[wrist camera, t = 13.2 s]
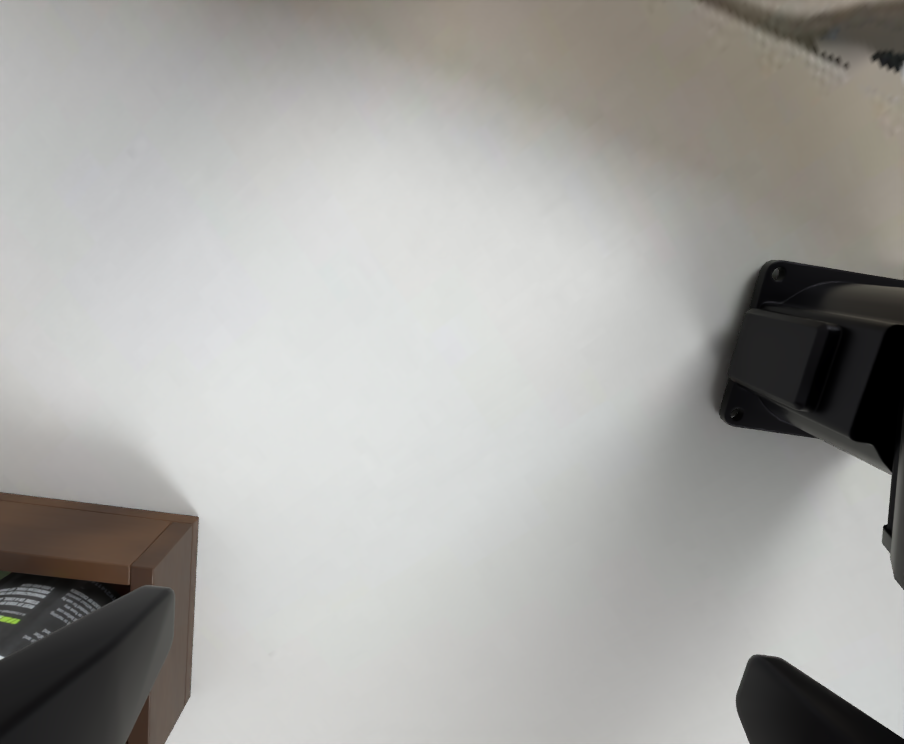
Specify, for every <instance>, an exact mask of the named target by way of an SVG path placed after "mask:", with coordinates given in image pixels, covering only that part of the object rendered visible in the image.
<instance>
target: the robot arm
mask: <svg viewBox="0 0 904 744" xmlns="http://www.w3.org/2000/svg"><path fill="white" fill-rule="evenodd" d="M776 268H778V270H779V275H778V277H777V278H776V279H775V280H774V279H773V277H772V273H773V271H774V270H775V269H776ZM728 375H729V379H728V383H727V386H726V390H725V393H724V397H723V400H722V403H721V407H720V412H719V415H720V418H721V419H722V420H723V421H724V422H726V423H727V424H729V425H731V426H735V427H742V428H749V429H755V430H762V431H769V432H776V433H783V434H790V435H797V436H804V437H811V438H818V439H821V440H823V441H825V442H827V443H829V444H831V445H833V446H835V447H837V448H839V449H841V450H843V451H845V452H847V453H849V454H851V455H853V456H855V457H857V458H859V459H861V460H863V461H865V462H867V463H868V464H870V465H872V466H874V467H876V468H878V469H880V470H882V471H884V472H886V473H888V474H890V475H892V479H891V491H890V503H889V514H888V524H887V525H884V526H883V535H882V543H883V545H884V546H885V547H886V549H887V550H888V551H889V553H890V560H891V564H892V569H893V574H894V578H895V580H896V581H897V582H898V583H899V585H900V586H901V587H902V588H903V589H904V281H903V280H897V279H891V278H885V277H879V276H873V275H867V274H861V273H855V272H849V271H843V270H837V269H831V268H825V267H819V266H813V265H807V264H801V263H795V262H789V261H783V260H771V261H769V262H766V263H765V264H764V265H763V266H762V268H761V270H760V272H759V276H758V279H757V283H756V286H755V289H754V293H753V296H752V300H751V303H750V307H749V310H748V311H747V312H746V313H745V315H744V318H743V322H742V325H741V329H740V332H739V336H738V339H737V343H736V346H735V350H734V353H733V356H732V360H731V363H730V367H729V370H728ZM737 408H738V413H737V414H736V416H734V417H731V413H732V411H733V410H734V409H737ZM174 617H175V593H174V590H173V589H171V588H170V587H162V586H153V585H144V586H142V587H139V588H137V589H135V590H133V591H132V592H130V593H128V594H126V595H124V596H122V597H120V598H118V599H116V600H114V601H112V602H110V603H108V604H107V605H105V606H103V607H101V608H99V609H97V610H95V611H93V612H91V613H89V614H87V615H85V616H83V617H82V618H80V619H78V620H76V621H74V622H72V623H70V624H68V625H66V626H64V627H62V628H60V629H58V630H57V631H55V632H53V633H51V634H49V635H47V636H45V637H43V638H41V639H39V640H37V641H35V642H33V643H32V644H30V645H28V646H26V647H24V648H22V649H20V650H18V651H16V652H14V653H12V654H10V655H8V656H7V657H5V658H3V659H1V660H0V744H125V743H126V741H127V739H128V737H129V735H130V733H131V731H132V729H133V726H134V724H135V722H136V720H137V718H138V716H139V714H140V712H141V710H142V708H143V706H144V703H145V701H146V699H147V697H148V695H149V693H150V691H151V689H152V687H153V685H154V683H155V681H156V678H157V676H158V674H159V672H160V670H161V668H162V666H163V664H164V662H165V660H166V658H167V655H168V653H169V651H170V648H171V645H172V642H173V637H174ZM736 707H737V712H738V715H739V718H740V720H741V723H742V725H743V728H744V730H745V733H746V736H747V738H748V741H749V743H750V744H904V739H903V738H901V737H900V736H898V735H897V734H895V733H894V732H892V731H891V730H889V729H888V728H886V727H885V726H883V725H882V724H880V723H879V722H877V721H876V720H874V719H873V718H871V717H870V716H868V715H867V714H865V713H864V712H862V711H861V710H859V709H858V708H856V707H855V706H853V705H852V704H850V703H848V702H847V701H845V700H844V699H842V698H841V697H839V696H838V695H836V694H835V693H833V692H832V691H830V690H829V689H827V688H826V687H824V686H823V685H821V684H820V683H818V682H817V681H815V680H814V679H812V678H811V677H809V676H808V675H806V674H805V673H803V672H802V671H800V670H799V669H797V668H796V667H794V666H793V665H791V664H789V663H788V662H786V661H785V660H783V659H782V658H779V657H775V656H766V655H753V656H752V657H751V658H750V659H749V660H748V662H747V665H746V668H745V671H744V674H743V677H742V680H741V683H740V686H739V688H738V691H737V695H736Z"/></svg>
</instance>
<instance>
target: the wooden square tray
mask: <svg viewBox="0 0 904 744" xmlns="http://www.w3.org/2000/svg"><path fill="white" fill-rule="evenodd" d="M198 522H199V517H196V516H188V515H180V514H171V513H163V512H155V511H147V510H139V509H131V508H123V507H115V506H107V505H98V504H90V503H82V502H74V501H66V500H58V499H50V498H42V497H33V496H25V495H17V494H9V493H1V492H0V580H1V579H2V578H4V577H6V576H7V575H9V574H10V573H11V572H16V573H25V574H33V575H42V576H51V577H60V578H69V579H77V580H86V581H95V582H104V583H113V584H121V585H130V592H132V591H133V590H135V589H137V588H139V587H142V586H144V585H153V586H162V587H170V588H171V589H173V590H174V593H175V617H174V637H173V642H172V645H171V648H170V651H169V653H168V655H167V658H166V660H165V662H164V664H163V666H162V668H161V670H160V672H159V674H158V676H157V678H156V681H155V683H154V685H153V687H152V689H151V691H150V693H149V695H148V697H147V699H146V701H145V703H144V706H143V708H142V710H141V712H140V714H139V716H138V718H137V720H136V722H135V724H134V726H133V729H132V731H131V733H130V735H129V737H128V739H127V741H126V743H125V744H165V742H166V740H167V738H168V736H169V735H170V733H171V731H172V729H173V727H174V725H175V723H176V722H177V720H178V718H179V716H180V714H181V712H182V711H183V709H184V706H185V705H186V703H187V701H188V699H189V698H190V689H191V668H192V647H193V627H194V606H195V585H196V564H197V543H198Z"/></svg>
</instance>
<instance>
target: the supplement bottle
mask: <svg viewBox="0 0 904 744" xmlns="http://www.w3.org/2000/svg"><path fill="white" fill-rule="evenodd" d="M128 593H130V585H121V584H113V583H104V582H95V581H86V580H77V579H69V578H60V577H51V576H42V575H33V574H25V573H16V572H11V573H10V574H9V575H7V576H6V577H4V578H2V579H1V580H0V660H1V659H3V658H5V657H7V656H8V655H10V654H12V653H14V652H16V651H18V650H20V649H22V648H24V647H26V646H28V645H30V644H32V643H33V642H35V641H37V640H39V639H41V638H43V637H45V636H47V635H49V634H51V633H53V632H55V631H57V630H58V629H60V628H62V627H64V626H66V625H68V624H70V623H72V622H74V621H76V620H78V619H80V618H82V617H83V616H85V615H87V614H89V613H91V612H93V611H95V610H97V609H99V608H101V607H103V606H105V605H107V604H108V603H110V602H112V601H114V600H116V599H118V598H120V597H122V596H124V595H126V594H128Z"/></svg>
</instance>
